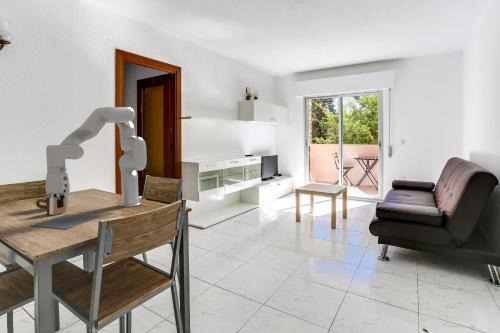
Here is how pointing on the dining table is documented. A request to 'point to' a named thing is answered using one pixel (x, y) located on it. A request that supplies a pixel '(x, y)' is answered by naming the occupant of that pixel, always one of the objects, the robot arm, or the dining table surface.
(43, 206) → the mug
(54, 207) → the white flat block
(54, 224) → the mat
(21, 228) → the dining table surface
